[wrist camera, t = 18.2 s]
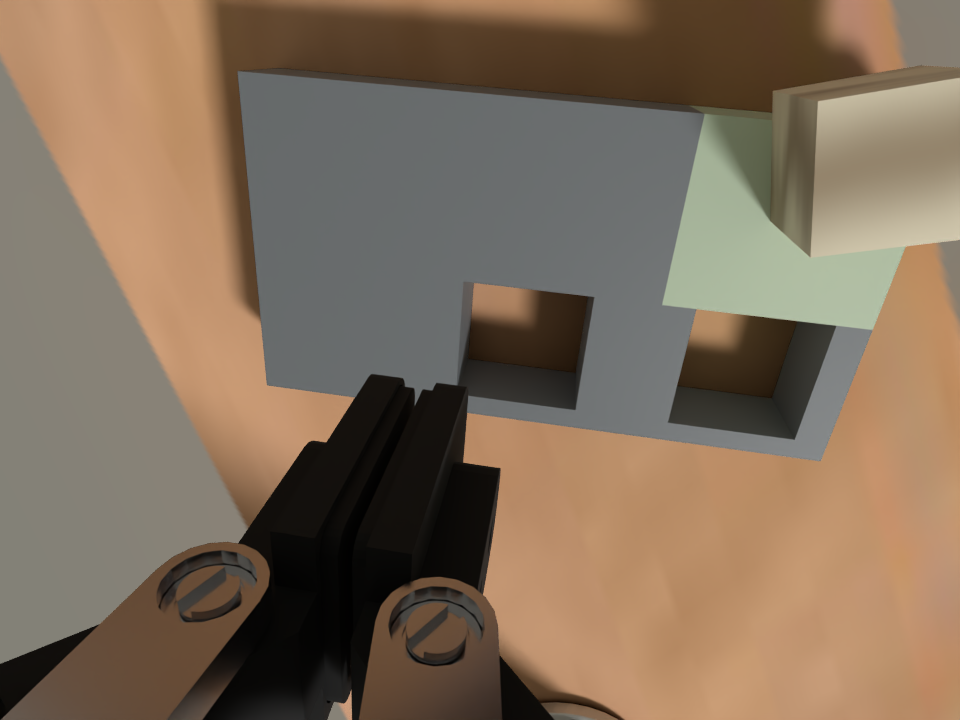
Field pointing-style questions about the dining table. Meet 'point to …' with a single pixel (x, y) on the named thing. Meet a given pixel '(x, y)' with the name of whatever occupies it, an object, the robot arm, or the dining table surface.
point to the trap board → (539, 252)
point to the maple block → (868, 161)
